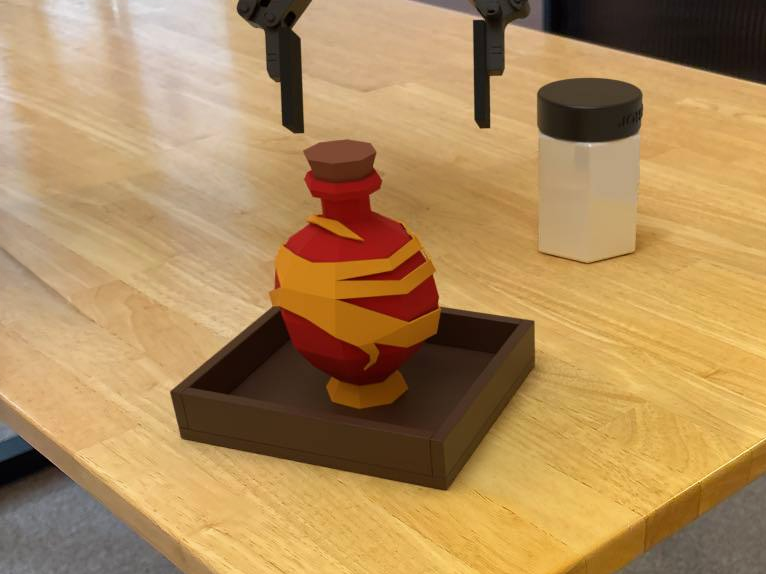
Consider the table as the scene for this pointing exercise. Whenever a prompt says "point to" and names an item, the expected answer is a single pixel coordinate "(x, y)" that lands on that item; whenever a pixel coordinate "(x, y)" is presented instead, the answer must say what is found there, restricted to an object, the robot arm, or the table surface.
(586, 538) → the table surface
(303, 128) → the robot arm
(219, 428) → the shallow brown tray
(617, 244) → the jar
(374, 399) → the potion bottle
